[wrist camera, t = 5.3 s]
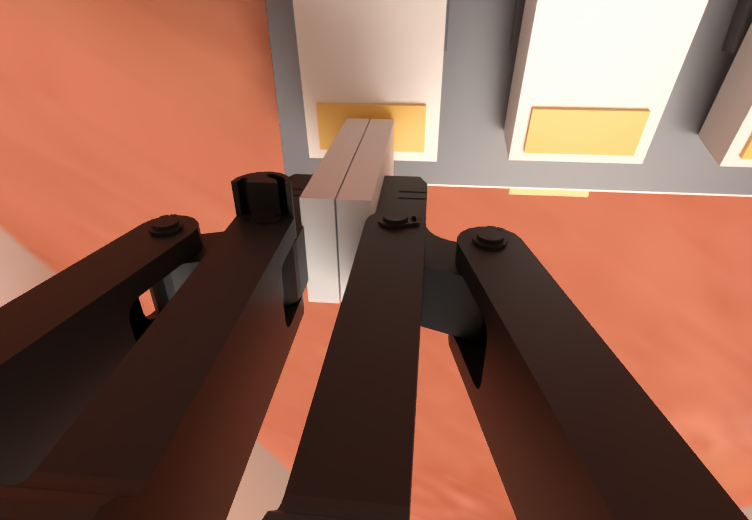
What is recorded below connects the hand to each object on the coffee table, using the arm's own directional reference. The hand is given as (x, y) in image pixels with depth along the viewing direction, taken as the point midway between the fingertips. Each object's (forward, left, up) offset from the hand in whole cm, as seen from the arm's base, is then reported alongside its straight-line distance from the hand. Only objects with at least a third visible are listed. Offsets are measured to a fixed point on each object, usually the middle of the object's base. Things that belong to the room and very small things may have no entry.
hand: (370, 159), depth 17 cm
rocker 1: (-4, 0, -1) cm, 4 cm away
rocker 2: (-4, +7, -2) cm, 8 cm away
